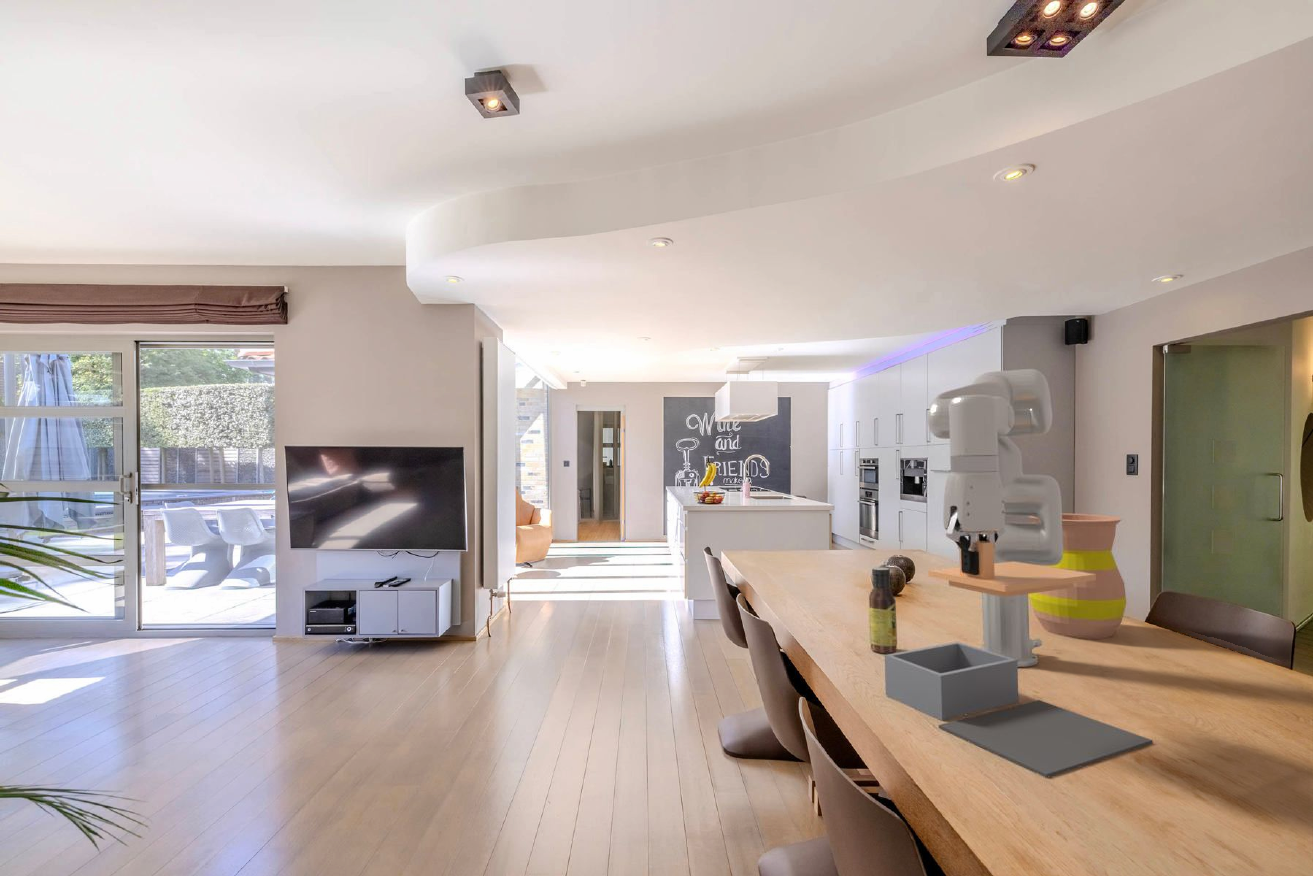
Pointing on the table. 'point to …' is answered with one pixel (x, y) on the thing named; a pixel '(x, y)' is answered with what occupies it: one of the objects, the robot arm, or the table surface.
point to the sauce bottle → (882, 613)
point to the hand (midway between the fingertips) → (977, 572)
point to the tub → (951, 679)
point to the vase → (1090, 602)
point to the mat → (1045, 737)
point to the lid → (1009, 576)
